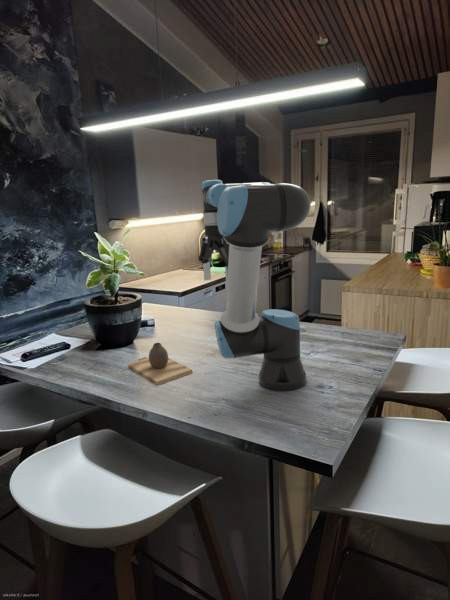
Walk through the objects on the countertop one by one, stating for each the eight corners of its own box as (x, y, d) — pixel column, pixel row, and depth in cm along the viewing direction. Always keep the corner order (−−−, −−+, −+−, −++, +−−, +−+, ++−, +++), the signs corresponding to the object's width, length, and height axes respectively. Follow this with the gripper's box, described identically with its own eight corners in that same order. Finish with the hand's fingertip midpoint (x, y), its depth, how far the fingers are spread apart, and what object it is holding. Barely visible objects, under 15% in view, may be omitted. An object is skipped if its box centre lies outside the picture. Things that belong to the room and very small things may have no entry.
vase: (145, 369, 145) (143, 345, 143) (157, 362, 151) (155, 339, 149) (161, 371, 142) (159, 347, 140) (172, 364, 148) (170, 341, 146)
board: (192, 372, 143) (192, 369, 142) (157, 385, 134) (157, 381, 134) (158, 355, 161) (157, 352, 161) (125, 365, 153) (125, 362, 153)
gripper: (245, 223, 141) (247, 283, 145) (203, 223, 160) (206, 276, 165) (228, 225, 136) (231, 287, 141) (187, 225, 155) (191, 279, 160)
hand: (218, 281), depth 153 cm, fingers open, 13 cm apart
